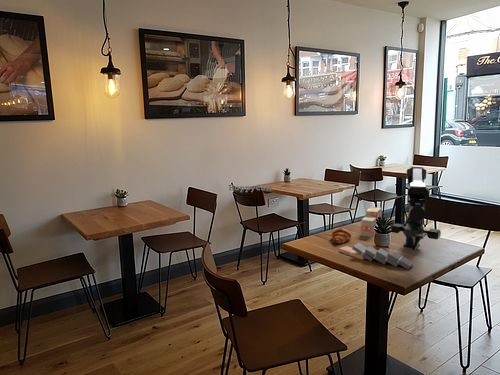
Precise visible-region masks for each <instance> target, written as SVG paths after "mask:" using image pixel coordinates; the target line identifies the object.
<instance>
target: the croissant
mask: <svg viewBox="0 0 500 375" xmlns="http://www.w3.org/2000/svg"><path fill="white" fill-rule="evenodd" d="M331 238H332V241H333V243H335V244H344V243H346V242H348V240H350V239H351V238H352V234H351V233H350V231H349V230H347V229H345V228H342V227H337V228H335V229H333V230H332V231H331Z"/></svg>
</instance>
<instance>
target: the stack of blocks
mask: <svg viewBox="0 0 500 375" xmlns="http://www.w3.org/2000/svg"><path fill="white" fill-rule="evenodd" d="M382 211H383V210H382V207H376V206H371V207H369V208H368V209H367V210H365V216H364V217H363V218H362V219H361V223H360V224H361V225H360V236H361V237H368V238H373V237H374V236H375V235H376V233H375V230H374V228H375V226H376V219H377V218H378V217H381V218H382V216H383V215H382Z"/></svg>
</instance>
